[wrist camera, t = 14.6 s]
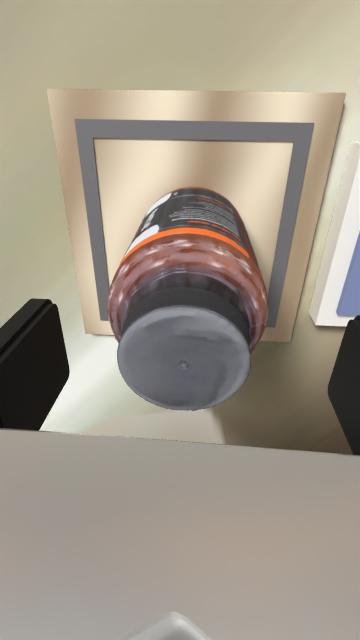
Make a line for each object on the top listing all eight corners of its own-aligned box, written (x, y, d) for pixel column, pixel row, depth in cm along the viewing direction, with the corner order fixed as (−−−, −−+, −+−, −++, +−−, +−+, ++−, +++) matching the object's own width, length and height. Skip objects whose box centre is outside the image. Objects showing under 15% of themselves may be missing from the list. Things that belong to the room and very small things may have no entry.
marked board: (341, 93, 16) (346, 92, 15) (287, 337, 23) (290, 343, 23) (51, 89, 17) (45, 89, 16) (88, 329, 24) (85, 334, 23)
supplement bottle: (128, 196, 18) (47, 290, 9) (237, 172, 17) (282, 248, 8) (155, 292, 21) (117, 441, 12) (249, 276, 20) (292, 424, 11)
